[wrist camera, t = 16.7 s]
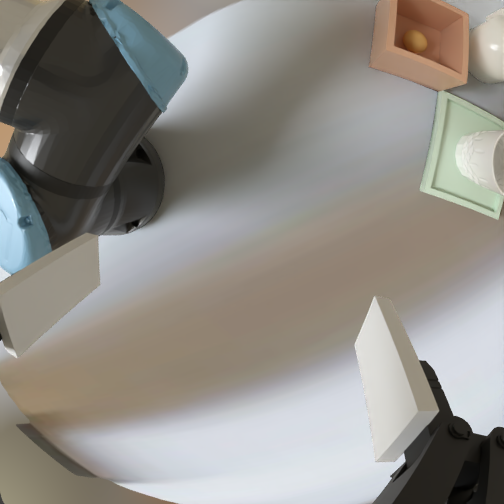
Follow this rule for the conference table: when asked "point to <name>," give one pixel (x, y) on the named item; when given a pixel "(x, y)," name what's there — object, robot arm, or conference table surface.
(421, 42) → the ball
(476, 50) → the mug
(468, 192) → the tray
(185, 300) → the conference table surface
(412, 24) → the planter
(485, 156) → the white cup
